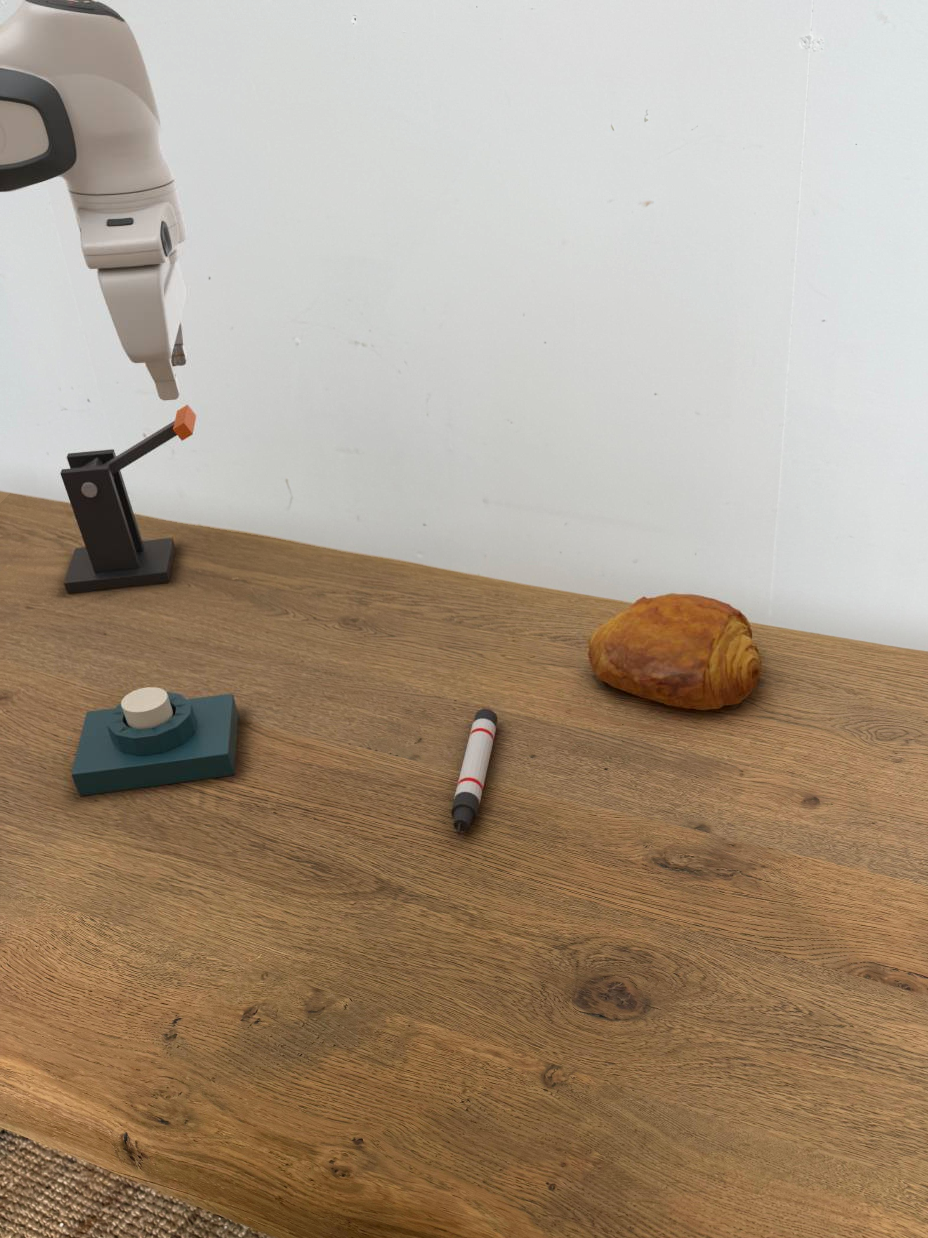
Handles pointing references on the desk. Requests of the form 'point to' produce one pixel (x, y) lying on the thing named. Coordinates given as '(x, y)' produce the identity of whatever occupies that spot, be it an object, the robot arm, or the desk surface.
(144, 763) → the block
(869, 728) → the desk surface
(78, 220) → the robot arm
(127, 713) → the power button
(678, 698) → the croissant
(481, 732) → the marker
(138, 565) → the pivot lever stand
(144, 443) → the lever switch
